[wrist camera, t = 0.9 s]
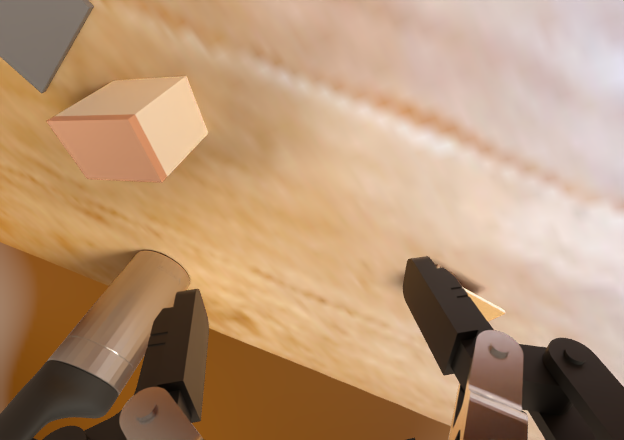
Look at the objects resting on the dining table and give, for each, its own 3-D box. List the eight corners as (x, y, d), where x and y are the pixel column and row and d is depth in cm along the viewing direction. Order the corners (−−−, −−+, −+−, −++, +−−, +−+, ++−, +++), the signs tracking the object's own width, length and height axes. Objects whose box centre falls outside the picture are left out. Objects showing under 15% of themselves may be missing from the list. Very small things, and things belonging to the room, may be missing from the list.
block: (186, 75, 30) (128, 119, 25) (208, 133, 34) (161, 182, 28) (114, 80, 33) (46, 121, 27) (142, 133, 36) (87, 178, 31)
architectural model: (448, 253, 37) (447, 314, 31) (501, 283, 37) (509, 347, 32) (427, 269, 39) (423, 328, 34) (477, 296, 40) (481, 358, 35)
